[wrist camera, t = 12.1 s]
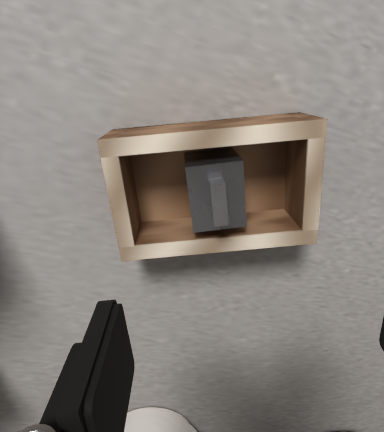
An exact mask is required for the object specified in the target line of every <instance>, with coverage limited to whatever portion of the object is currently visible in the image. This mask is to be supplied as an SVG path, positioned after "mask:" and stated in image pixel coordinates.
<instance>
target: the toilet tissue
mask: <svg viewBox="0 0 384 432" xmlns="http://www.w3.org/2000/svg"><path fill="white" fill-rule="evenodd" d="M124 432H197V431H196V430H195V428H194V427H193V426H192V425H190V423H189V422H188V421H187V420H186V419H185V418H184V417H183V416H182V415H180V414H178V413H176V412H174V411H172V410H168V409H164V408H158V407H148V408H140V409H136V410H133V411H130V412H128V413H127V417H126V423H125V429H124Z"/></svg>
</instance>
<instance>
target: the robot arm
mask: <svg viewBox="0 0 384 432" xmlns="http://www.w3.org/2000/svg"><path fill="white" fill-rule="evenodd" d="M379 341H380V345H381V348H382V349H383V351H384V318H383V323H382V328H381V333H380V339H379ZM133 375H134V358H133V354H132V349H131V344H130V339H129V335H128V330H127V325H126V321H125V316H124V311H123V307H122V304H117V302H116V300H107V301H99V302H98V303H97V305H96V308H95V310H94V313H93V315H92V318H91V321H90V323H89V326H88V328H87V331H86V334H85V336H84V339H83V341H82V343H75V344H74V345H73V346H72V348H71V350H70V352H69V354H68V357H67V359H66V362H65V364H64V366H63V369H62V371H61V373H60V376H59V378H58V381H57V383H56V385H55V388H54V390H53V392H52V395H51V397H50V400H49V402H48V404H47V407H46V409H45V411H44V414H43V416H42V419H41V421H40V423H39V424H35V425H32V426H28V427H26V428H24V429H22V430H20V431H19V432H124V429H125V423H126V417H127V411H128V405H129V399H130V393H131V387H132V381H133ZM341 432H345V431H341Z"/></svg>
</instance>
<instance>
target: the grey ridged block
mask: <svg viewBox="0 0 384 432" xmlns="http://www.w3.org/2000/svg"><path fill="white" fill-rule="evenodd" d="M184 159H185V172H186V179H187V187H188V195H189V203H190V210H191V218H192V226H193V233H196V232H205V231H213V230H221V229H229V228H238V227H246V226H247V222H246V203H245V184H244V166H243V160H242V158H241V157H240V156H239V155H238V153H237V152H236V151H235V150H234V149H233V147H226V148H218V149H210V150H202V151H194V152H186V153H184Z"/></svg>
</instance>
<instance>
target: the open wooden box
mask: <svg viewBox="0 0 384 432" xmlns="http://www.w3.org/2000/svg"><path fill="white" fill-rule="evenodd" d="M327 120H328V119H325V118H321V117H317V116H313V115H308V114H304V113H300V112H299V113H288V114H277V115H266V116H255V117H244V118H233V119H222V120H211V121H200V122H189V123H178V124H167V125H156V126H145V127H134V128H123V129H113V130H111V131H110V132H108V133H107V134H105V135H104V136H102V137H101V138H99V139H98V140H97V142H98V147H99V152H100V157H101V162H102V167H103V172H104V177H105V182H106V187H107V191H108V196H109V201H110V206H111V211H112V216H113V221H114V226H115V231H116V236H117V241H118V246H119V251H120V256H121V261H129V260H140V259H151V258H162V257H173V256H184V255H195V254H206V253H217V252H228V251H239V250H250V249H262V248H273V247H284V246H295V245H306V244H317V237H318V225H319V213H320V202H321V190H322V178H323V167H324V155H325V143H326V132H327ZM226 147H233V149H234V150H235V151H236V152H237V153H238V155H239V156H240V157H241V158H242V160H243V166H244V184H245V203H246V222H247V226H246V227H238V228H229V229H221V230H213V231H205V232H196V233H193V226H192V218H191V210H190V203H189V195H188V187H187V179H186V172H185V159H184V153H186V152H194V151H202V150H210V149H218V148H226Z"/></svg>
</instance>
